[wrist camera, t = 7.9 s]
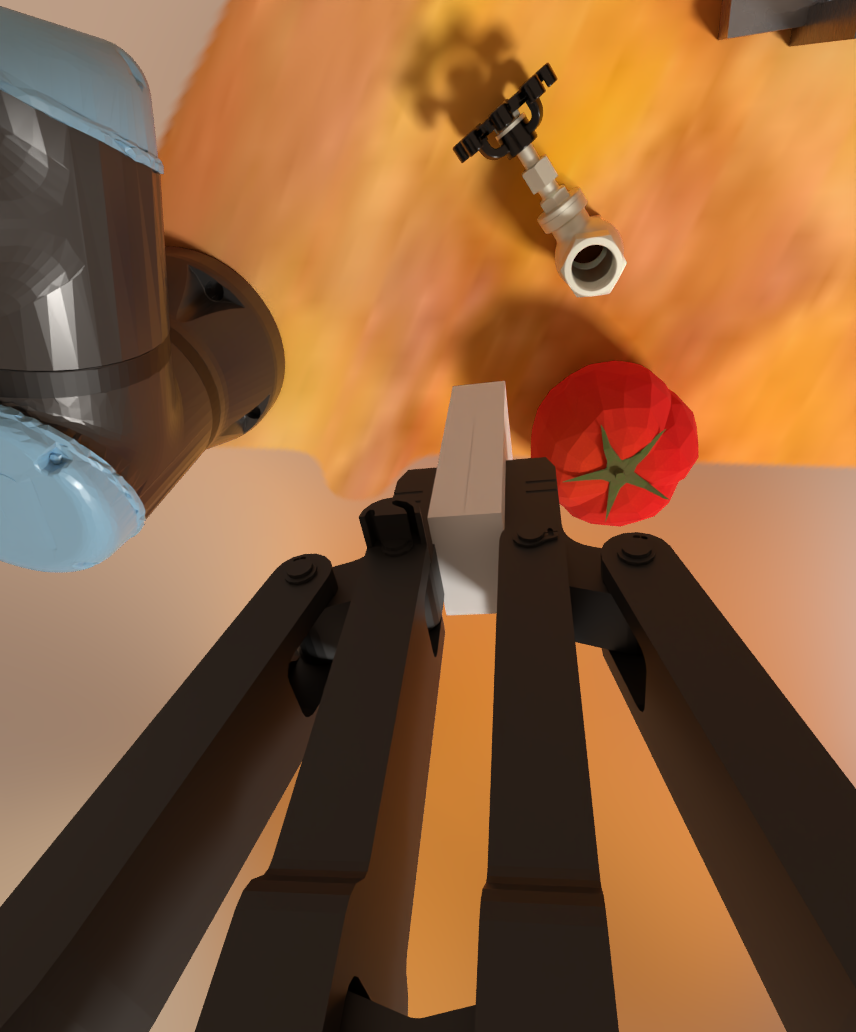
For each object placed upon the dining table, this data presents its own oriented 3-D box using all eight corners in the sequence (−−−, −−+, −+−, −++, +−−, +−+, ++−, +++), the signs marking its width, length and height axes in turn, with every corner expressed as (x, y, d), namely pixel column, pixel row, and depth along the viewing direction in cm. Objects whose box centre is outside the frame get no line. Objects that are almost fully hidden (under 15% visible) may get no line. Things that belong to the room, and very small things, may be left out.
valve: (645, 237, 41) (546, 62, 36) (663, 261, 36) (549, 60, 31) (559, 298, 44) (457, 143, 39) (563, 329, 39) (446, 153, 34)
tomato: (685, 466, 50) (716, 544, 42) (542, 487, 53) (544, 563, 45) (680, 322, 44) (716, 380, 35) (518, 354, 47) (515, 414, 38)
